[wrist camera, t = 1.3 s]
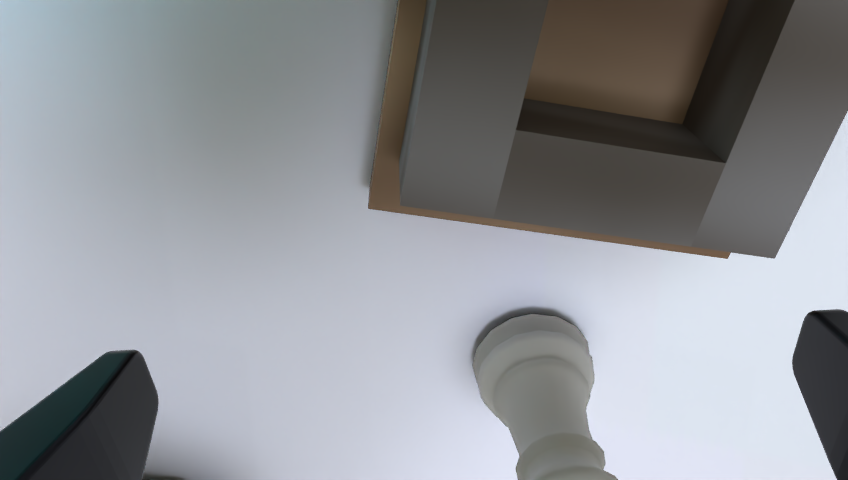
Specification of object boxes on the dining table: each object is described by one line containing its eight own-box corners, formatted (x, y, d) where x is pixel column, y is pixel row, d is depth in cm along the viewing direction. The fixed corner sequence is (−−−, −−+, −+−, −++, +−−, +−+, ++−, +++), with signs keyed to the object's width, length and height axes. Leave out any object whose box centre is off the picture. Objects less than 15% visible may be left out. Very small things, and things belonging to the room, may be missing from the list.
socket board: (709, 237, 24) (772, 311, 20) (369, 188, 22) (364, 257, 18) (916, -243, 17) (1073, -275, 13) (452, -356, 16) (472, -431, 12)
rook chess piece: (447, 358, 26) (467, 541, 19) (533, 285, 24) (589, 454, 17) (525, 415, 27) (571, 603, 20) (610, 350, 26) (690, 528, 19)
